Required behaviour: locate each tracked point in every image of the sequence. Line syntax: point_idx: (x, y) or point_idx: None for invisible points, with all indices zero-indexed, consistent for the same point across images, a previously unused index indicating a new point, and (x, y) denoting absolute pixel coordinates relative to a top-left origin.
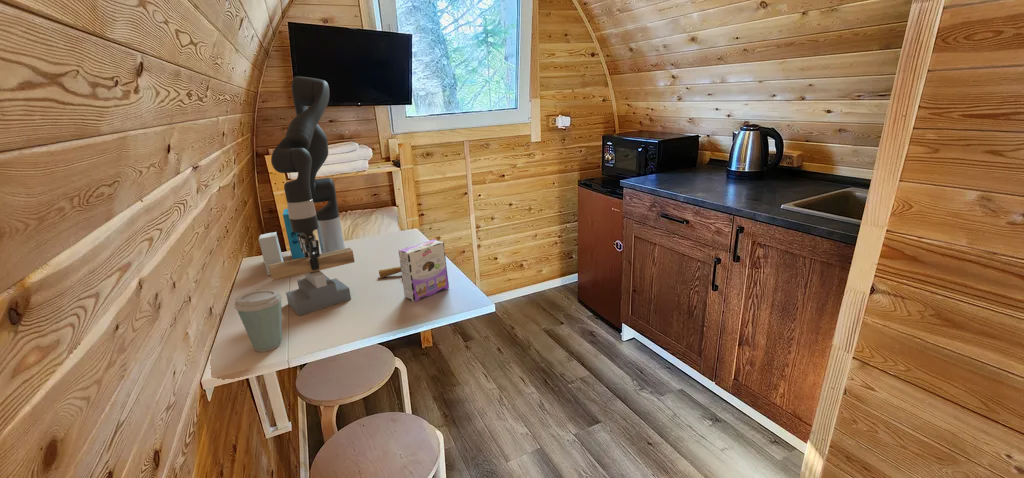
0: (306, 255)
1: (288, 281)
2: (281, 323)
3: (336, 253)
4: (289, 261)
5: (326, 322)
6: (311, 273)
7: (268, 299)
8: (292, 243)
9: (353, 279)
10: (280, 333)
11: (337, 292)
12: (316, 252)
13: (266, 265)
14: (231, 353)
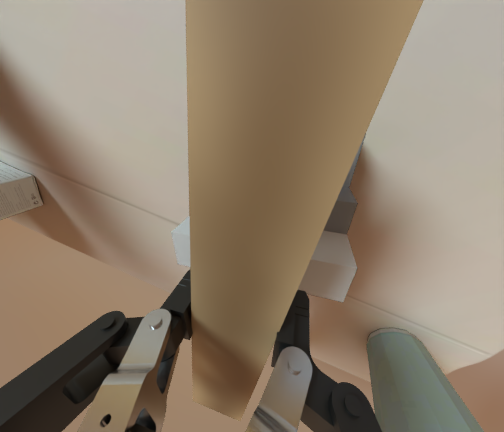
0: (183, 334)
1: (93, 191)
2: (437, 376)
3: (305, 201)
4: (206, 377)
5: (428, 253)
6: None
7: None
8: None
9: (170, 23)
10: (432, 360)
11: (348, 184)
12: (299, 411)
13: (12, 213)
14: (353, 362)
